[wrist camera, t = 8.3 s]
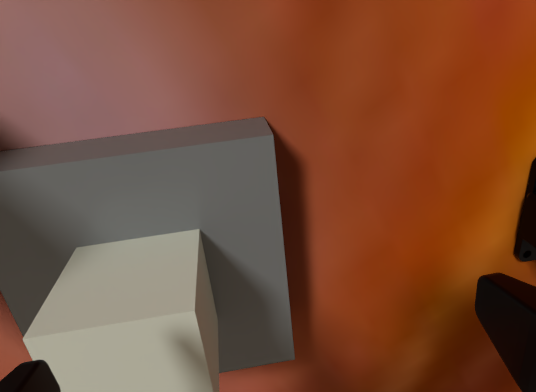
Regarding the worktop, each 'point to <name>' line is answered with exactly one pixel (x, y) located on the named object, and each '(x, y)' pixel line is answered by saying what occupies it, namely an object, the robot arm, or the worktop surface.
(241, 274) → the plinth
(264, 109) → the worktop surface
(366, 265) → the worktop surface
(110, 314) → the cube
